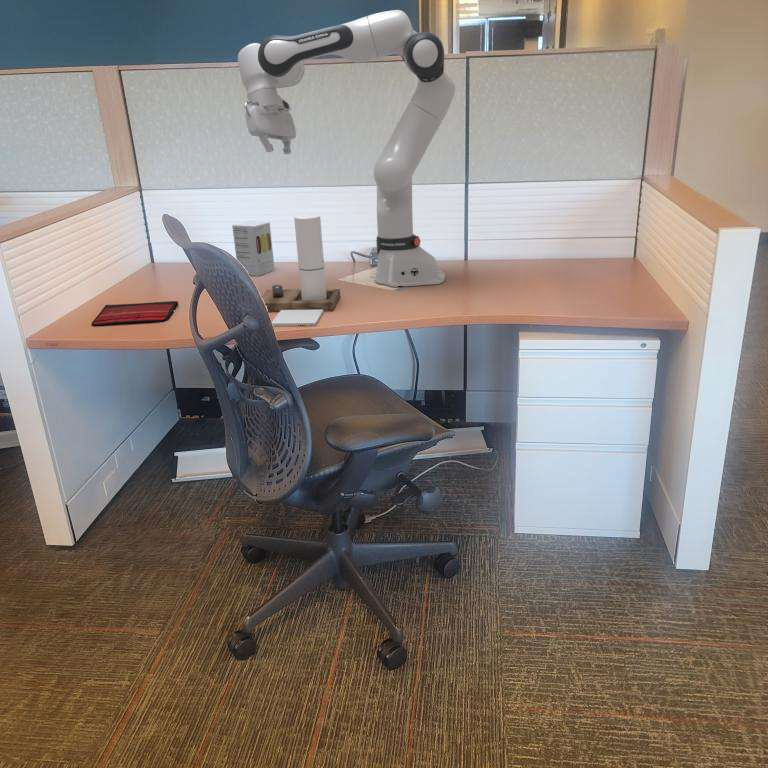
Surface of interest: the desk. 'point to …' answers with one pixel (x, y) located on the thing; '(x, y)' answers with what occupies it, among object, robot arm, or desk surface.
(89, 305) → the desk surface
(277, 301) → the walnut board
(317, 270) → the cylindrical container
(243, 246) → the supplement box
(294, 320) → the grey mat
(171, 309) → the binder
